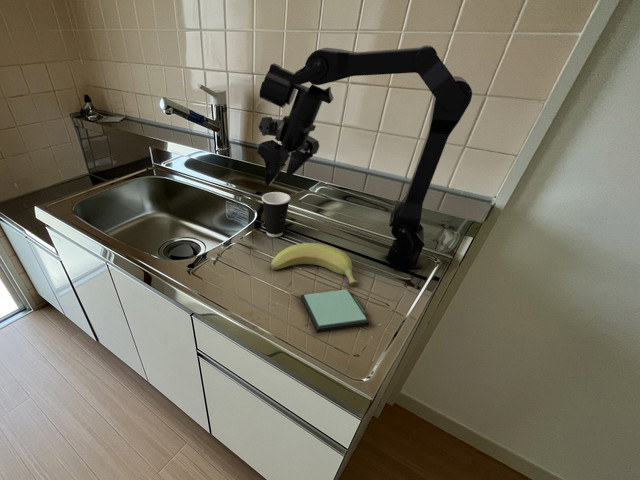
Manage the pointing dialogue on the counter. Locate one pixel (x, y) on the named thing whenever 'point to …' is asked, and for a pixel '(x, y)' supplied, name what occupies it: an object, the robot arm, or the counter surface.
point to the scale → (334, 311)
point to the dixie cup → (275, 212)
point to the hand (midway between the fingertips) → (277, 180)
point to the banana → (315, 258)
